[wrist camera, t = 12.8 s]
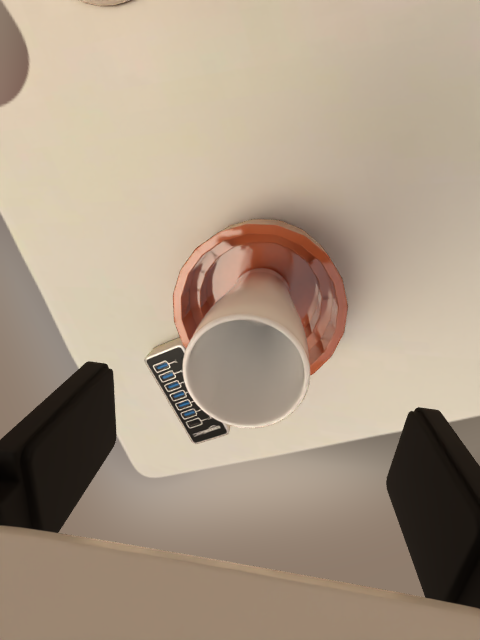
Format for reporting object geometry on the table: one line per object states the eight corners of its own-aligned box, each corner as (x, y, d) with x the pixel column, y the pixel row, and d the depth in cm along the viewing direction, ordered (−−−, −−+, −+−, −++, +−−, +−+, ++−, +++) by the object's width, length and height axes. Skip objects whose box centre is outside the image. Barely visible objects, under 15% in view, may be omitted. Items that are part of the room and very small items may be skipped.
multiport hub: (187, 334, 34) (181, 343, 32) (233, 420, 37) (230, 434, 35) (150, 348, 35) (142, 358, 33) (198, 431, 38) (193, 445, 36)
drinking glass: (229, 330, 33) (189, 431, 19) (221, 261, 31) (170, 316, 17) (300, 327, 32) (313, 430, 18) (297, 255, 30) (310, 309, 16)
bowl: (164, 272, 32) (139, 288, 27) (285, 186, 28) (286, 184, 23) (242, 379, 35) (235, 413, 30) (361, 314, 31) (379, 340, 26)
